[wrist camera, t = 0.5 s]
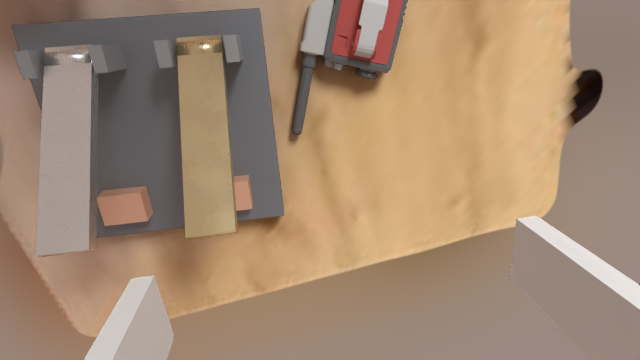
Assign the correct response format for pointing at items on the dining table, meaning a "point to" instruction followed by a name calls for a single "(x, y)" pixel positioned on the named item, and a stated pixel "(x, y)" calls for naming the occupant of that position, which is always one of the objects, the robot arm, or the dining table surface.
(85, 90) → the steel strap
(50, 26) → the mount plate
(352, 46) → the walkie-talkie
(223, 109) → the brass strap
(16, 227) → the dining table surface
